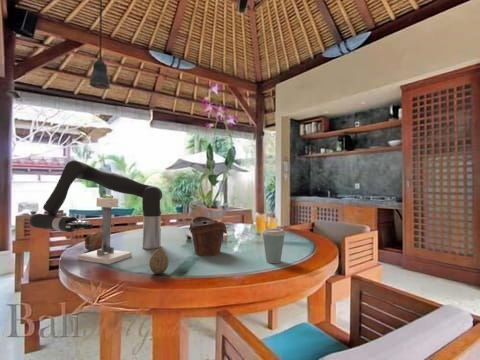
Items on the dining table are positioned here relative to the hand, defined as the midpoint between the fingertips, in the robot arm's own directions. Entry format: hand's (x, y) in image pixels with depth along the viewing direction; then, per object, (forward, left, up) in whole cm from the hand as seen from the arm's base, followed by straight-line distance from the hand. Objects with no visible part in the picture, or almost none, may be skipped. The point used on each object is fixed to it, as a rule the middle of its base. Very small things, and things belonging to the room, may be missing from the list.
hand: (91, 226), depth 134 cm
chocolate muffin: (-56, -1, -14) cm, 58 cm away
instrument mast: (-8, +4, -12) cm, 15 cm away
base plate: (-8, +4, -14) cm, 17 cm away
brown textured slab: (+3, -15, -14) cm, 21 cm away
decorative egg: (-35, +30, -14) cm, 48 cm away
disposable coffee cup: (-85, +18, -14) cm, 88 cm away
